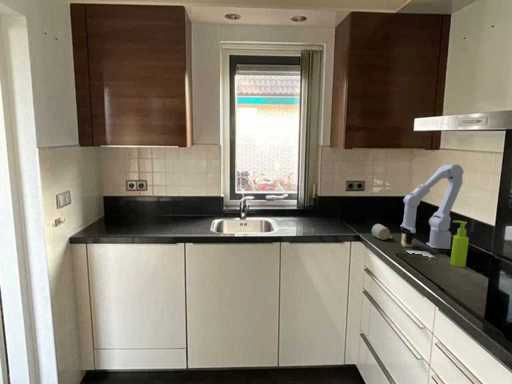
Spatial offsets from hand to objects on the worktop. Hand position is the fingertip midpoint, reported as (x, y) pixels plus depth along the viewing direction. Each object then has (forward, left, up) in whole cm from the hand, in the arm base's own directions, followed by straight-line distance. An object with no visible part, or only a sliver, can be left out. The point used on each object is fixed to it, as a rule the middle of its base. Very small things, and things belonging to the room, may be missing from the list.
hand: (407, 242), depth 179 cm
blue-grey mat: (0, +15, -2) cm, 15 cm away
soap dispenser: (-13, +26, -2) cm, 29 cm away
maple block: (0, 0, -2) cm, 2 cm away
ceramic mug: (+9, -12, -2) cm, 16 cm away
